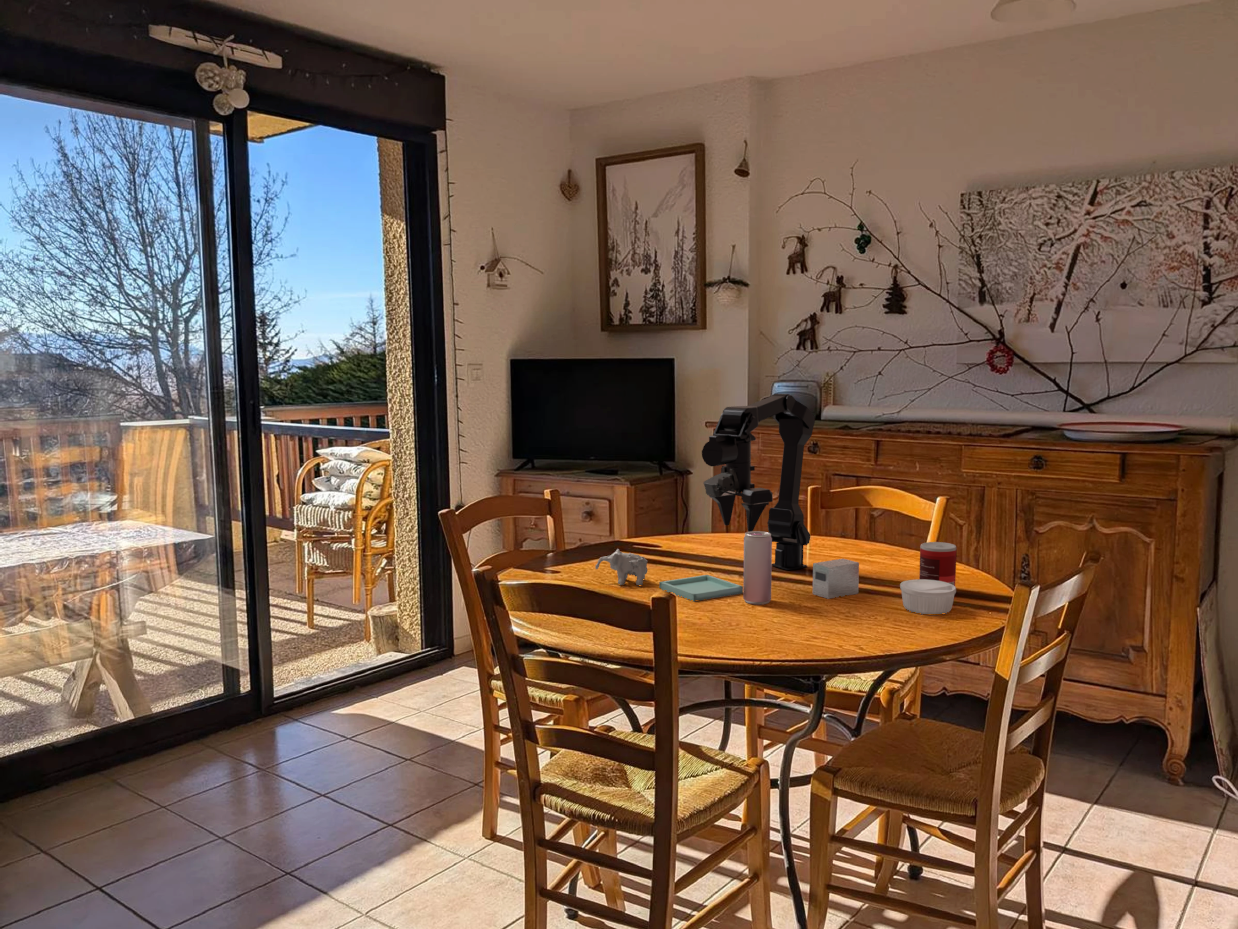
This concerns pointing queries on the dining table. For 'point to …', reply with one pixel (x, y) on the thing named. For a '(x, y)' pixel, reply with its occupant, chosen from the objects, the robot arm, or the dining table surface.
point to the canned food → (938, 562)
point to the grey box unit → (835, 578)
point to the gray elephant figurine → (626, 566)
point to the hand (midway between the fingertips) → (738, 528)
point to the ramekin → (927, 596)
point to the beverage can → (757, 567)
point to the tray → (701, 587)
